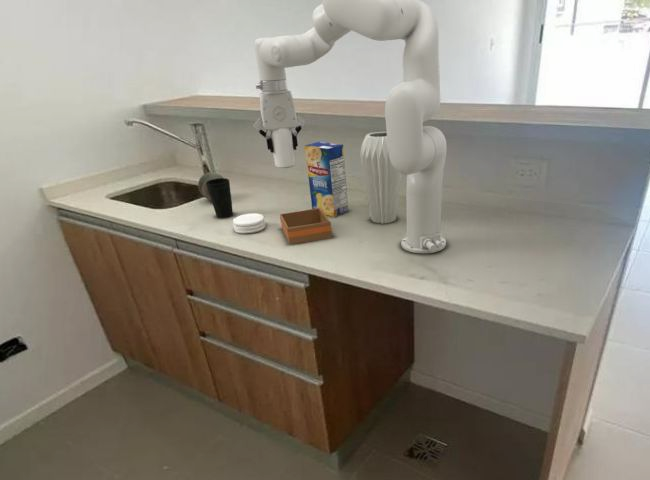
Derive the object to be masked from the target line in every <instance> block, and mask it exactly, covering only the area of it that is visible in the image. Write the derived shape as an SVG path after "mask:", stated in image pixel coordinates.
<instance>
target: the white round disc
mask: <svg viewBox="0 0 650 480" xmlns="http://www.w3.org/2000/svg"><path fill="white" fill-rule="evenodd" d="M232 224H233V230H234V232H236V233H238V234H245V235H246V234H247V235H248V234H255V233H259V232H261V231H263V230H265V228H266V226H267V225H266V220H265V216H264V215H263V214H260V213H254V212H253V213H243V214H240V215H237V216H235V217H234V218H233V219H232Z"/></svg>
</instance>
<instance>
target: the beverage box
mask: <svg viewBox="0 0 650 480" xmlns="http://www.w3.org/2000/svg"><path fill="white" fill-rule="evenodd" d="M304 148H305V149H304V152H305V161H306V169H307V175H308V184H309V194H310V201H311V209H316V208H320V209H321V210H322V211H323V213H324V214H325V215H326V216H330V217H334V218H335V217H338V216H340V215H342V214H345V213H347V212H349V203H348V202H349V200H348V192H347V191H348V189H347V188H348V187H347V178H346V177H347V176H346V163H345V151H344V144H341V143H335V142H334V143H333V142H326V141H317V142H316V141H315V142H312V143H309V144H305V145H304Z"/></svg>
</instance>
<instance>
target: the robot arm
mask: <svg viewBox="0 0 650 480" xmlns="http://www.w3.org/2000/svg"><path fill="white" fill-rule="evenodd" d="M311 19H312V24H313V27H312V28H310V29H309V30H307V31H305V32H304V33H302V34H289V35H288V34H287V35H279V36H272V37H271V36H270V37H261V38H260V37H259V38H257V39H255V41H254V50H255V56H256V64H257V70H258V77H259V82H258V83H255V88H256V90H260V91H261V92H259V110H260V116H259V117H258V119H257V120H256V121H255V122H254V124H253V126H252V127H253V129H254V130H255V131H256V132H258V133H259V134H260V135H261V136H262V137H264V139H265V140H266V146H267V147H266V148H267V150H269V151H270V153H271V154H273V152H274V150H273V144H272V139H271V136H270V135H271V131H272V130H276V129H279V128H290V129H291V133H292V140H293V147H294V151H296V150H297V147H299V143H298V134H299V133H300V132H301V130H302V128H304V125H305V124H306V120H305V119H303V118H302V117H301V116H300V115H299V114H297V113H296V107H295V102H294V98H293V94H292V91H291V90H289V89H288V83H287V81H288V80H287V74H286V69H287V68H294V67H301V66H309V65H311V64H313V63H315V62H316V61H318V60H319V59H321V58H322V57H324V56H326V55H327V54H328V53H329V52H330V51H331V50H332V49H333V47H334V45H335V44H336V42H337V41H339V40H340V39H341V38H343V37H344V36H346V35H347V34H348V33H350V32H354V33H356V34H358V35H361V36H363V37H365V38H368V39H370V40H373V41H377V42H385V41H396V40H403V41H404V42H405V43H404V48H403V54H402V75H403V76H402V77H403V79H402V81H403V82H400V83H398V84H396V85H395V86H393V87H392V88H391V90H390V91H389V92H388V94H387V96H386V100H385V104H384V105H385V106H384V118H385V128H386V131H385V132H387V142H388V153H389V158H390V161H391V164H392V165H393V167H394V168H395V170H396V171H398V172H399V173H401V175H404V176H406V183H405V185H406V186H405V187H406V189H405V191H406V193H405V194H406V197H405V199H406V200H405V203H406V236H404V237H403V238H402V239H401V242H400V243H401V248H402V249H403V250H405V251H407V252H409V253H412V254H421V255H422V254H423V255H424V254H435V253H438V252H440V251H442V250H444V249H445V248H446V247H447V241H446V238H444V236H441V235H442V207H443V203H442V202H443V182H444V171H445V164H446V158H447V151H448V150H447V149H448V148H447V147H448V145H447V140H446V137H445V134H443V131H441V130H440V129H439V128H437V127H435V126H433V125H432V126H431V125H425V126H424V122H427V121H429V120H431V119H433V118H434V117H436V116H437V115H438V112H439V111H440V108H441V80H440V55H439V49H440V48H439V45H440V44H439V41H440V40H439V39H440V37H439V25H438V21H437V17H436V16H435V13H434V12H433V10H432V9H431V7H430V6H429V5H428V4H427V3H425V2H424V1H422V0H322V3H321V4H319V5H318V6H316V7H315V8H314V10H313V12H312V18H311ZM261 125H262V127H263V128H264V129H265V130H263V128H261Z"/></svg>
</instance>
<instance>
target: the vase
mask: <svg viewBox="0 0 650 480" xmlns="http://www.w3.org/2000/svg"><path fill="white" fill-rule="evenodd" d="M364 136H365V137H364V138H363V141H362V143H361V146H360V153H359V159H360V164H361V170H362V177H363V181H364V186H365V193H366V198H367V203H368V209H369V214H370V220H371V221H372V222H373V223H375V224H376V223H377V224H382V225H383V224H390V223H393V222H395V221H396V220H397V217H398V216H397V215H398V206H399V198H400V189H401V181H402V180H401V179H402V174H401V173H399V172H398V171H396V170H395V168H394V167H393V165H392V164H391V161H390V158H389V153H388V142H387V131H377V132H375V131H374V132H370V133H367V134H366V135H364Z"/></svg>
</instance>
